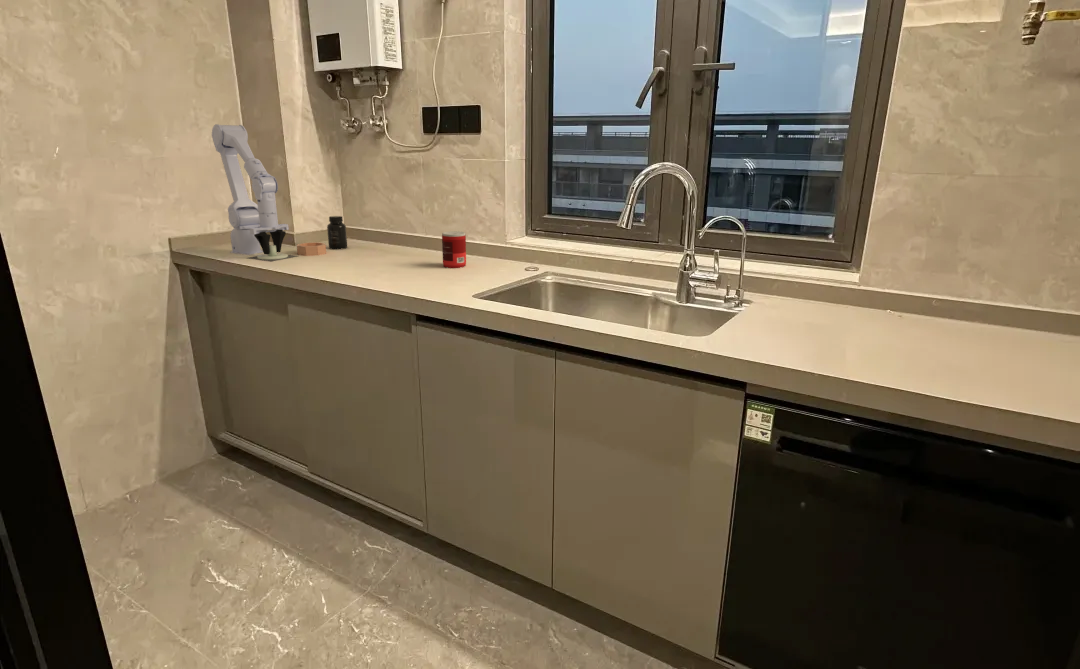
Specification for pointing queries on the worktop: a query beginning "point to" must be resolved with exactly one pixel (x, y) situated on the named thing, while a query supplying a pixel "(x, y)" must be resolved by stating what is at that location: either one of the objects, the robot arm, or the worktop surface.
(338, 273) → the worktop surface
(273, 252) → the lid
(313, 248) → the bowl
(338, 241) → the supplement bottle
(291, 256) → the mat
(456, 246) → the canned food
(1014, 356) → the worktop surface
